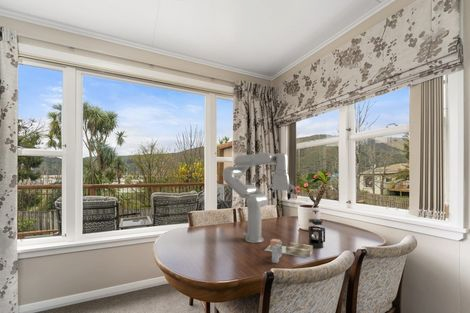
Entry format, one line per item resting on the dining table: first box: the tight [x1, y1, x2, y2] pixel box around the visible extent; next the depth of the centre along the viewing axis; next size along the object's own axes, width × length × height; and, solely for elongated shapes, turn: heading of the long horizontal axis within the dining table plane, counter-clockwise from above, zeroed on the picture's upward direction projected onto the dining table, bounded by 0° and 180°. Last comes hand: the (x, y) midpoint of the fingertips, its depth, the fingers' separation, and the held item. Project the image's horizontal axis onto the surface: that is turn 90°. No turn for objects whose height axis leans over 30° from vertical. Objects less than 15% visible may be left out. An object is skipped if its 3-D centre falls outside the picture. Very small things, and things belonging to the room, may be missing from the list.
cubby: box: [286, 241, 314, 258], centre depth 141 cm, size 14×11×4 cm
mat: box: [264, 244, 311, 259], centre depth 143 cm, size 26×13×1 cm, turn 63°
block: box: [269, 238, 282, 249], centre depth 147 cm, size 5×5×5 cm
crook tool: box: [271, 241, 283, 264], centre depth 131 cm, size 3×12×8 cm, turn 153°
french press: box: [307, 209, 326, 250], centre depth 153 cm, size 12×9×23 cm
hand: (281, 198), depth 153 cm, fingers open, 9 cm apart
